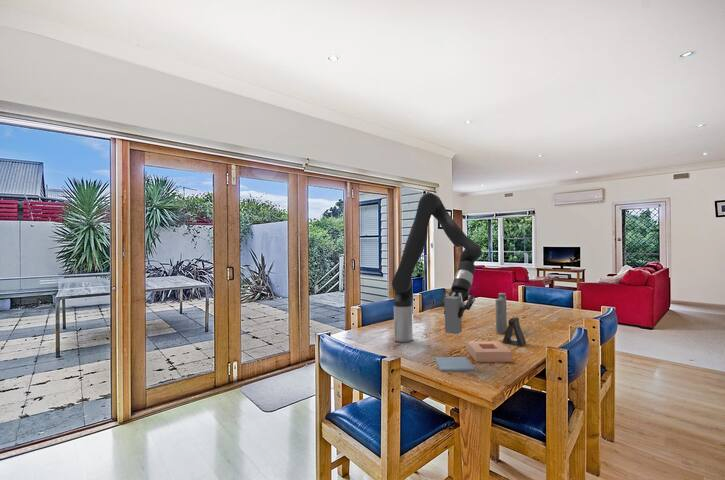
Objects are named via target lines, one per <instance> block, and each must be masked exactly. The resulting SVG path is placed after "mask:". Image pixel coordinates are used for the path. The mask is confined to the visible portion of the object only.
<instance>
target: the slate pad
mask: <svg viewBox="0 0 725 480" xmlns="http://www.w3.org/2000/svg"><path fill="white" fill-rule="evenodd" d="M434 360H435V363H436V365H437V366H438V369H439V371H440V372H475V371H476V369H475V367H474V365H473V364H472V363H471V361H469V359H468V357H466V356H439V357H438V356H436V357H435V356H434Z"/></svg>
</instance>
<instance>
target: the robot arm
mask: <svg viewBox="0 0 725 480" xmlns="http://www.w3.org/2000/svg"><path fill="white" fill-rule="evenodd" d="M414 216H415V217H414V220H413V223H412V225H411V228H410V231H409V234H408V237H407V239H406V241H405V244H404V248H403V252H402V255H401V258H400V263H399V266H398V267H397V270H396V271H395V274H394V276H393V278H392V280H391V286H392V289H393V290H394V298H393V340H394V342H398V343H399V342H401V343H407V342H412V341H413V336H414V335H413V334H414V332H413V299H414V298H413V295H414V294H413V292H414V290H413V287H414V286H413V279H412V276H413V273H414V270H415V267H416V265H417V264H418V262H419V260H420V258H421V256H422V254H423V252H424V249H425V246H426V244H427V240H428V232H429V230H428V229H429V222H430V219H431V217H432V216H433V218H435V220H436V221H438V223H439V225H440V226H441V228H442V230H443V232H444V234H445V235H446V237H447V238H448V239H449V241H450V242H451V243H452V244H453V245H454V247H456V248H460V247H462V248H464V249H463V250H462V252H461V254H460V256H459V259H458V260H459V262H458V267H457V271H456V273H455V276H454V279H453V282H452V285H451V288H450V291H449V293H445V292H442V294H441V305H442V306H443V308H444V310H443V314H444V315H445V306H444V298H445V297H448V296H456V297H461V305H460V306H461V308H460V309H459V312H458V317H459V318H461V317H462V318H463V316H464V313H465V311H466V310H467V311H470V310H471V308H472V306H473V305H474V302H475V301H476V299H475V296H474V294H471V295H470V291H471V287H472V285H473V281H474V276H475V275H474V274H475V271H476V266H475V265H476V264H475V262H476V261H477V260H478V259H479V258H480V257H481V256H482V253H483V252H482V247H480V245H479V244H478V243H477V242H475V241H474V240H472V239H471V238H470V237H468V236H467V235H466V233H465V232H464V231H463V230H462V228H460V226H459V225H458V224H457V222H455V220H454V219H453V217H452V216H451V215H450V214H449V212H448V211H447V209H446V207H445V205H444V204H443V202H442V200H441V198H440V197H439V196H438V195H436V194H434V193H432V192H429V191H428V192H425V193H423V194H422V195H421V196H420V198H419V201H418V205H417V209H416V213H415V215H414ZM466 300H467V302H466ZM465 302H466V303H465Z"/></svg>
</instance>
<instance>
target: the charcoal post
mask: <svg viewBox="0 0 725 480" xmlns="http://www.w3.org/2000/svg"><path fill="white" fill-rule="evenodd" d="M460 305H461V297H456V296H448V297H445V298H444V306H445V308H444V309H445V314H444V333H445V334H454V335H458V334H460V333H462V332H463V324H462V323H463V322H462V321H463V319H462V318H463V316H462V317H461V318H459V317H458V312H459V309H460V308H461V306H460Z"/></svg>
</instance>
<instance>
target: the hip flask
mask: <svg viewBox="0 0 725 480" xmlns="http://www.w3.org/2000/svg"><path fill="white" fill-rule="evenodd" d="M507 319H508V318H507V294H506V293H505V292H504V293H503V292H499V293H498V298H496V299H495V329H496V330H495V333H496V334H499V335H500V334H504V333H506V331H507V328H508V323H507Z"/></svg>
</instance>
